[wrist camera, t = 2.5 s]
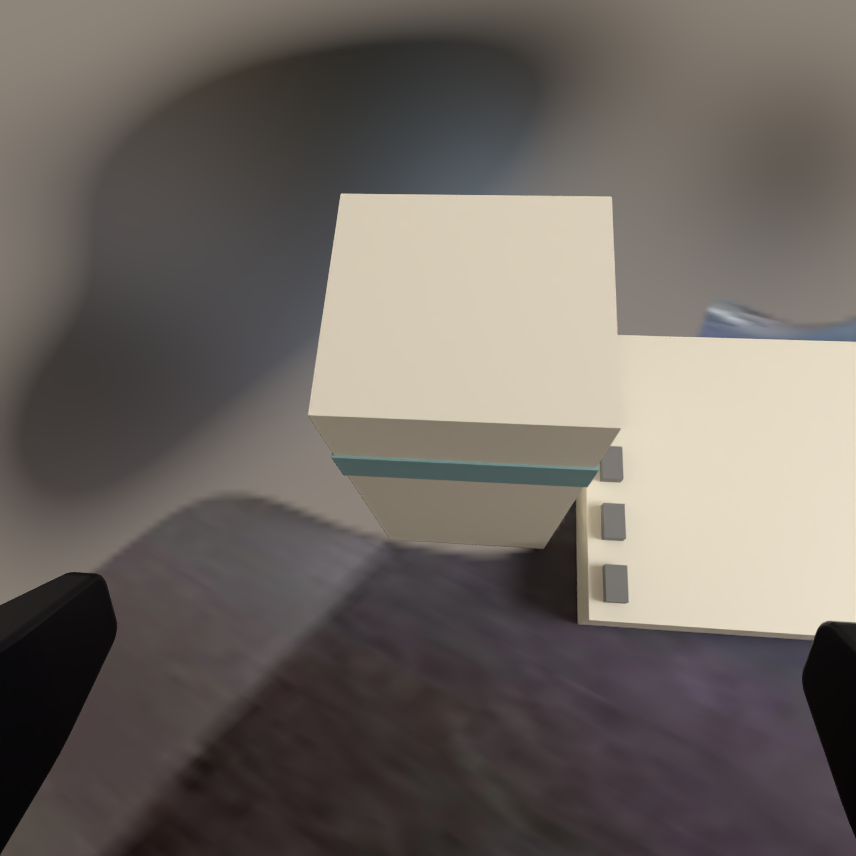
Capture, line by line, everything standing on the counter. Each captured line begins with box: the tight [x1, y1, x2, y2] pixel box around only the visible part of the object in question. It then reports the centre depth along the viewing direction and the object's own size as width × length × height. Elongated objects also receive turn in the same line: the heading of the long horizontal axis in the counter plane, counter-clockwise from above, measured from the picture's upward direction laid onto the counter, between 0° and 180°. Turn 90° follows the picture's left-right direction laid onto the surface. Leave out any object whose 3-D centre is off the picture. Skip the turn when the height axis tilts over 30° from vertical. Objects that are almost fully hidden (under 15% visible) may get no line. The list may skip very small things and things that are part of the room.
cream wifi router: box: [576, 335, 856, 640], centre depth 19 cm, size 9×16×2 cm, turn 86°
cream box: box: [308, 194, 621, 549], centre depth 16 cm, size 5×5×11 cm
